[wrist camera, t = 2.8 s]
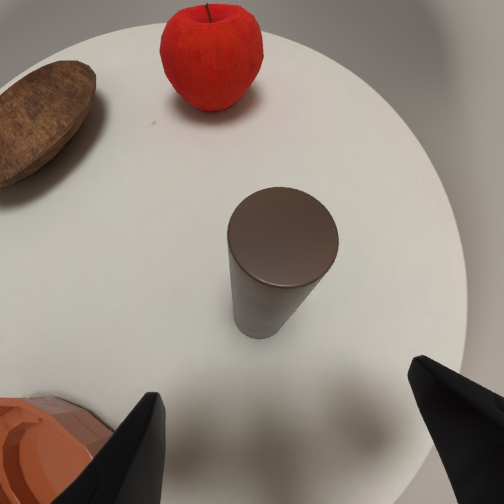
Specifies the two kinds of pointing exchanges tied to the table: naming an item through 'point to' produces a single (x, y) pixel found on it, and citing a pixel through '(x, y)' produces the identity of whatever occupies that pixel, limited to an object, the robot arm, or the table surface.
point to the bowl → (42, 116)
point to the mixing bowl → (44, 447)
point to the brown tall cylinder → (277, 256)
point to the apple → (212, 54)
